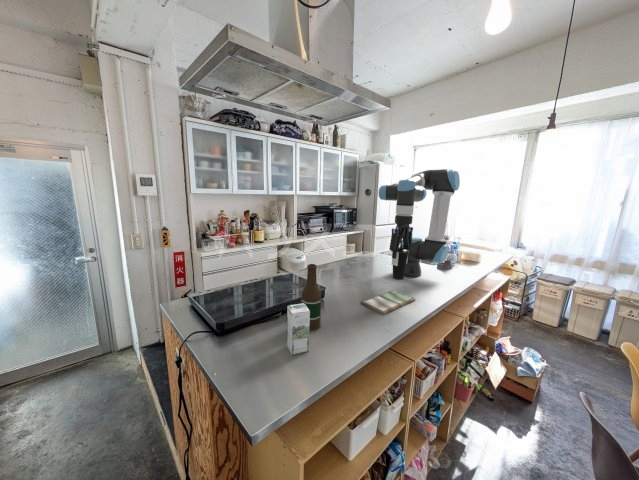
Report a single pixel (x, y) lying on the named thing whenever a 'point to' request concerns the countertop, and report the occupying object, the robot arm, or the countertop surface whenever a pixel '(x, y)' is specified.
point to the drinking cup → (400, 263)
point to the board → (388, 302)
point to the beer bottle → (312, 297)
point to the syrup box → (298, 328)
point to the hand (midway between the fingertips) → (399, 263)
